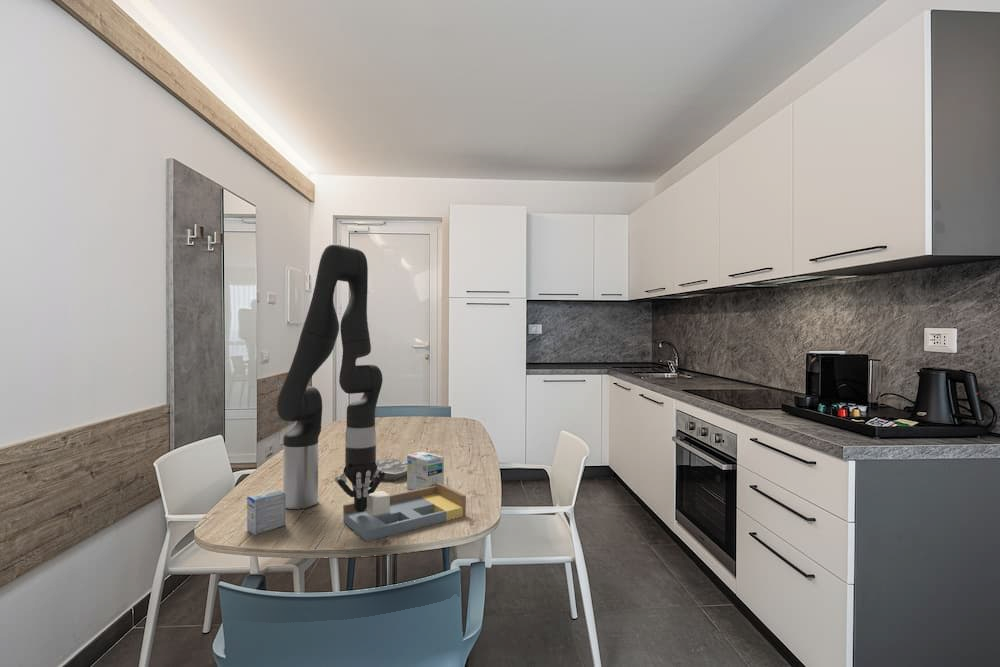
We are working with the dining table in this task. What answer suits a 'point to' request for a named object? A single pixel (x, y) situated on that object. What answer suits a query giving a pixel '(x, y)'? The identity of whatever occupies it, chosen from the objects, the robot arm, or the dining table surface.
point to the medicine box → (266, 511)
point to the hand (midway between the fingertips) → (360, 511)
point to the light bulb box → (424, 470)
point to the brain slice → (392, 468)
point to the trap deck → (408, 512)
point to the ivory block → (378, 503)
